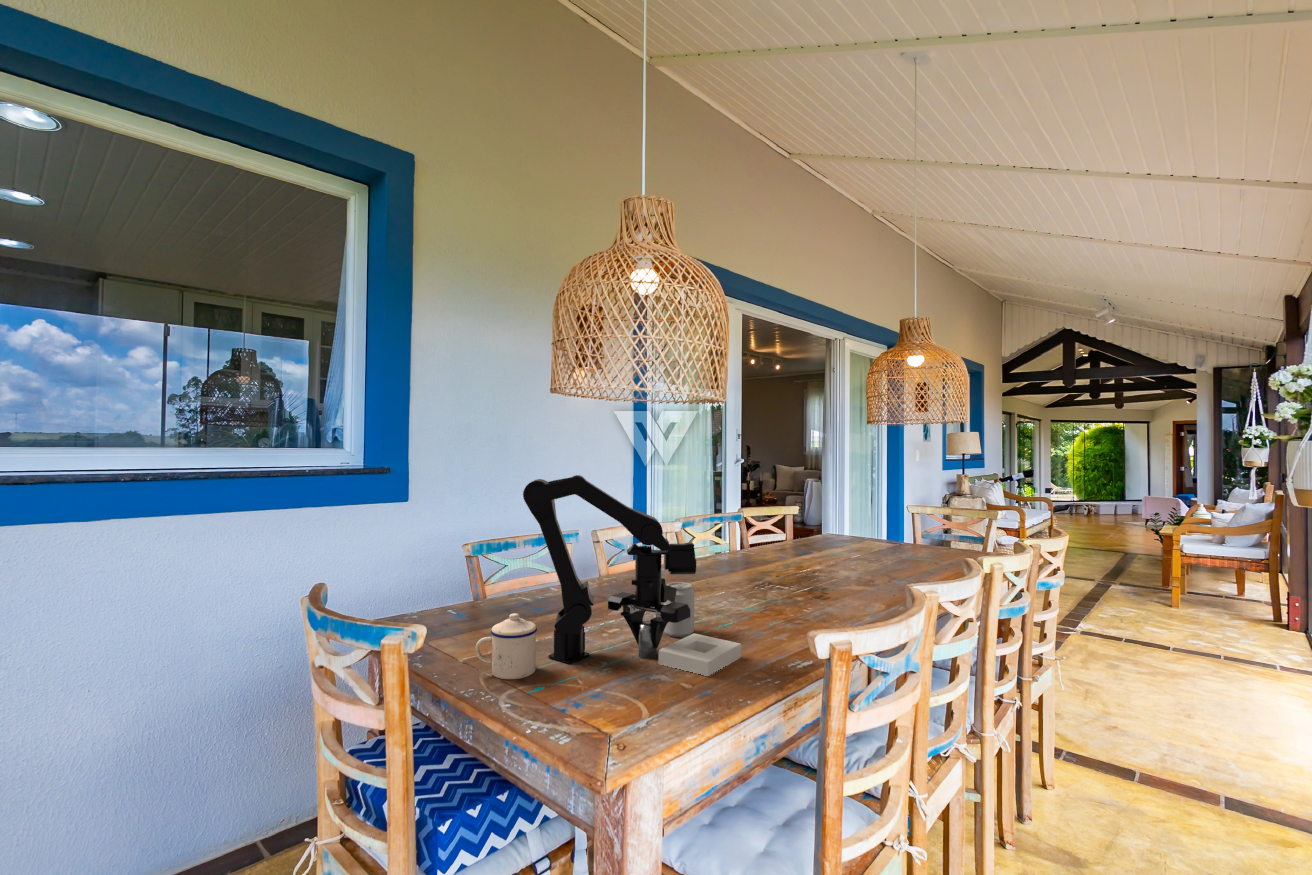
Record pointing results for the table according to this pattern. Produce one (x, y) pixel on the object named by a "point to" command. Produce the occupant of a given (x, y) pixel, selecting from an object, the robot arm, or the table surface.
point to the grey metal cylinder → (646, 641)
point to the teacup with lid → (511, 648)
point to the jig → (700, 654)
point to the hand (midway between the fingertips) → (647, 645)
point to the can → (687, 597)
